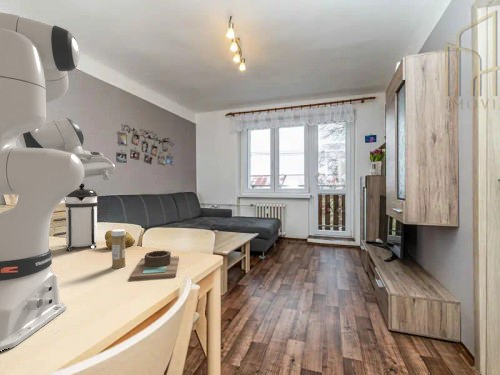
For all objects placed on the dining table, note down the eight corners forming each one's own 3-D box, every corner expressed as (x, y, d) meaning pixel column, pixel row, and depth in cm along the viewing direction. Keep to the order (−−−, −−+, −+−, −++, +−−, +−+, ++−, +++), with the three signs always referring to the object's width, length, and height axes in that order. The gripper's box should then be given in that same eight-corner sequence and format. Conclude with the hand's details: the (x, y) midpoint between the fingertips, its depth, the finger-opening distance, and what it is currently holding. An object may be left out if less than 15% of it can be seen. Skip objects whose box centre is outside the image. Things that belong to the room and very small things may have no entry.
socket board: (175, 276, 82) (175, 262, 82) (129, 280, 79) (129, 265, 79) (178, 259, 100) (178, 247, 100) (141, 261, 97) (141, 249, 97)
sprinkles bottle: (128, 266, 92) (128, 229, 92) (115, 269, 88) (115, 231, 88) (121, 263, 94) (121, 228, 94) (109, 267, 91) (108, 230, 90)
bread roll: (133, 243, 126) (133, 227, 126) (137, 247, 118) (137, 230, 117) (104, 246, 119) (104, 230, 118) (105, 251, 111) (105, 233, 110)
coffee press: (109, 244, 123) (109, 183, 122) (78, 253, 107) (78, 183, 107) (83, 241, 128) (83, 183, 127) (50, 249, 113) (49, 183, 112)
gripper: (44, 157, 88) (58, 178, 81) (105, 152, 103) (121, 169, 97) (45, 172, 91) (59, 193, 84) (105, 165, 106) (120, 182, 100)
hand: (93, 180), depth 91 cm, fingers open, 8 cm apart
